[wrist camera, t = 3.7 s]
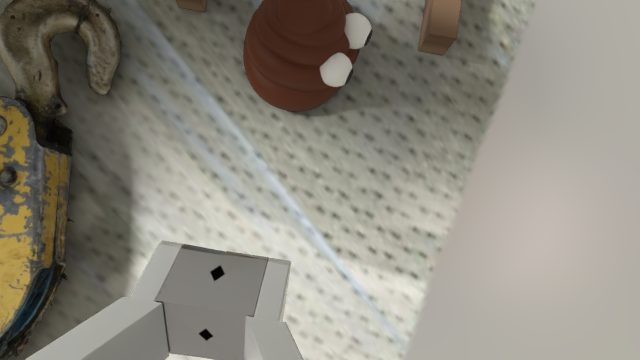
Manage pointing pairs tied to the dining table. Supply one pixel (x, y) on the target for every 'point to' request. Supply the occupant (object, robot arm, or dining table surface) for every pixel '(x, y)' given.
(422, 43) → the channel
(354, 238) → the dining table surface
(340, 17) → the poop emoji
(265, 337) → the robot arm
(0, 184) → the pulley block
